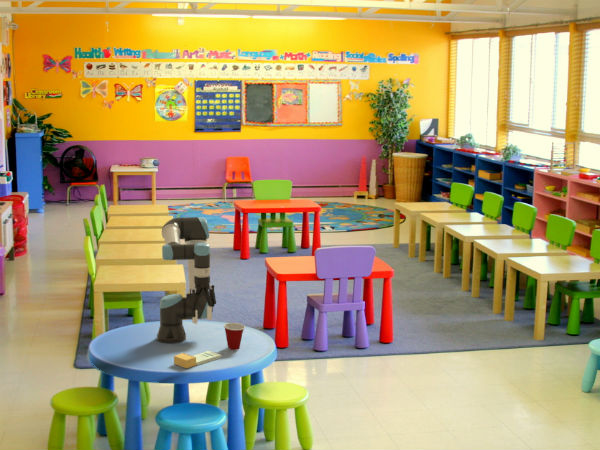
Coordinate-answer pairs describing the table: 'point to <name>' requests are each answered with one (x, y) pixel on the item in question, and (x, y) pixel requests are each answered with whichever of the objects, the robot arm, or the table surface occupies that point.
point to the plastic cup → (234, 335)
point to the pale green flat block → (206, 357)
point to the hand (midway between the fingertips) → (202, 321)
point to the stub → (184, 360)
